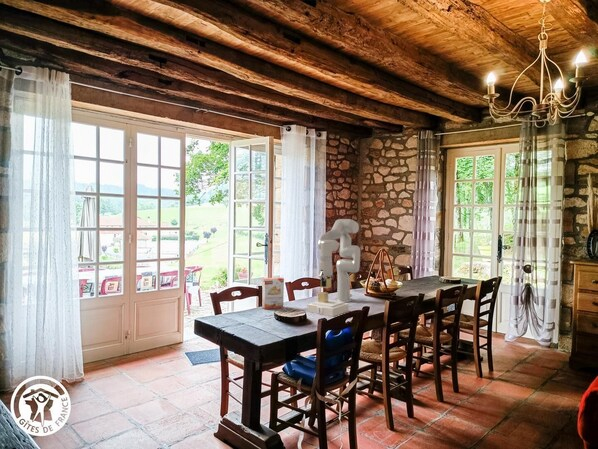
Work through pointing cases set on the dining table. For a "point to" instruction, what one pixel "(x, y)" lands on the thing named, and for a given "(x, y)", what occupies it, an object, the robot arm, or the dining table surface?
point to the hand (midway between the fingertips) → (326, 285)
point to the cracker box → (272, 293)
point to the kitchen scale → (328, 307)
